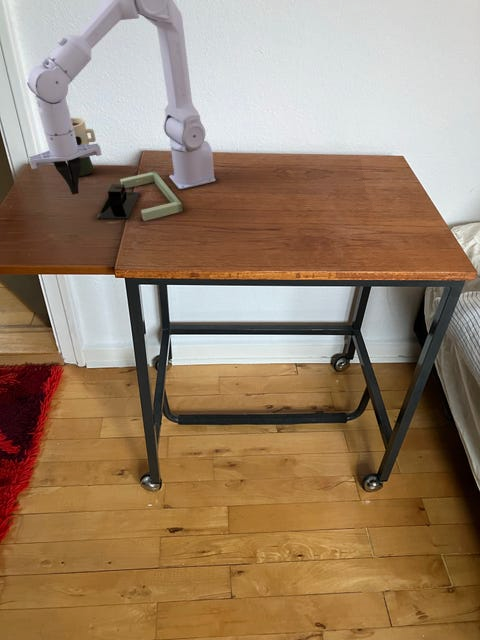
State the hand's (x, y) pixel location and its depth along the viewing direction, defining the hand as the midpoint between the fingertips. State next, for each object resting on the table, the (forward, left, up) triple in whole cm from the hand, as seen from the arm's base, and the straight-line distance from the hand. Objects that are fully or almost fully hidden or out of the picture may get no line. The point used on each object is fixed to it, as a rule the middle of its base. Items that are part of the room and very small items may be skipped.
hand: (74, 192), depth 117 cm
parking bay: (-17, 0, -6) cm, 18 cm away
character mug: (-5, -23, -6) cm, 24 cm away
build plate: (-9, 0, -6) cm, 11 cm away
